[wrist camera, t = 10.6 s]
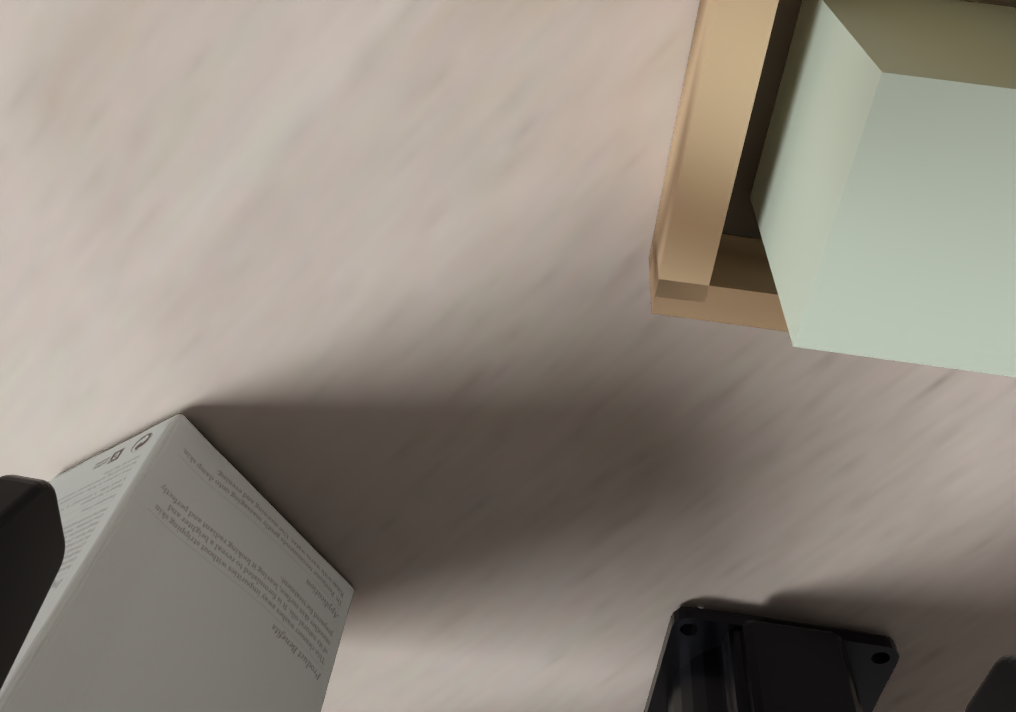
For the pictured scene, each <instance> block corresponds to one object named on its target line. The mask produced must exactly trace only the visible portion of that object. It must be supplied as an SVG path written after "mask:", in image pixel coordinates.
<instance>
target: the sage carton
mask: <svg viewBox="0 0 1016 712" xmlns="http://www.w3.org/2000/svg"><path fill="white" fill-rule="evenodd" d="M750 198H751V202H752V205H753V209H754V212H755V216H756V219H757V223H758V226H759V230H760V233H761V237H762V240H763V244H764V247H765V251H766V254H767V258H768V261H769V265H770V268H771V272H772V275H773V279H774V282H775V285H776V289H777V292H778V296H779V299H780V303H781V306H782V310H783V313H784V317H785V320H786V324H787V327H788V331H789V334H790V338H791V341H792V345H793V347H799V348H807V349H814V350H821V351H828V352H836V353H843V354H850V355H857V356H864V357H872V358H879V359H886V360H893V361H901V362H908V363H915V364H922V365H929V366H937V367H944V368H951V369H958V370H966V371H973V372H980V373H987V374H995V375H1002V376H1009V377H1016V7H1008V6H1000V5H992V4H984V3H976V2H968V1H960V0H802V3H801V7H800V11H799V15H798V18H797V22H796V26H795V30H794V33H793V37H792V41H791V45H790V49H789V52H788V56H787V60H786V64H785V68H784V71H783V75H782V79H781V83H780V86H779V90H778V94H777V98H776V102H775V105H774V109H773V113H772V117H771V120H770V124H769V128H768V132H767V136H766V139H765V143H764V147H763V151H762V155H761V158H760V162H759V166H758V170H757V173H756V177H755V181H754V185H753V189H752V192H751V196H750Z"/></svg>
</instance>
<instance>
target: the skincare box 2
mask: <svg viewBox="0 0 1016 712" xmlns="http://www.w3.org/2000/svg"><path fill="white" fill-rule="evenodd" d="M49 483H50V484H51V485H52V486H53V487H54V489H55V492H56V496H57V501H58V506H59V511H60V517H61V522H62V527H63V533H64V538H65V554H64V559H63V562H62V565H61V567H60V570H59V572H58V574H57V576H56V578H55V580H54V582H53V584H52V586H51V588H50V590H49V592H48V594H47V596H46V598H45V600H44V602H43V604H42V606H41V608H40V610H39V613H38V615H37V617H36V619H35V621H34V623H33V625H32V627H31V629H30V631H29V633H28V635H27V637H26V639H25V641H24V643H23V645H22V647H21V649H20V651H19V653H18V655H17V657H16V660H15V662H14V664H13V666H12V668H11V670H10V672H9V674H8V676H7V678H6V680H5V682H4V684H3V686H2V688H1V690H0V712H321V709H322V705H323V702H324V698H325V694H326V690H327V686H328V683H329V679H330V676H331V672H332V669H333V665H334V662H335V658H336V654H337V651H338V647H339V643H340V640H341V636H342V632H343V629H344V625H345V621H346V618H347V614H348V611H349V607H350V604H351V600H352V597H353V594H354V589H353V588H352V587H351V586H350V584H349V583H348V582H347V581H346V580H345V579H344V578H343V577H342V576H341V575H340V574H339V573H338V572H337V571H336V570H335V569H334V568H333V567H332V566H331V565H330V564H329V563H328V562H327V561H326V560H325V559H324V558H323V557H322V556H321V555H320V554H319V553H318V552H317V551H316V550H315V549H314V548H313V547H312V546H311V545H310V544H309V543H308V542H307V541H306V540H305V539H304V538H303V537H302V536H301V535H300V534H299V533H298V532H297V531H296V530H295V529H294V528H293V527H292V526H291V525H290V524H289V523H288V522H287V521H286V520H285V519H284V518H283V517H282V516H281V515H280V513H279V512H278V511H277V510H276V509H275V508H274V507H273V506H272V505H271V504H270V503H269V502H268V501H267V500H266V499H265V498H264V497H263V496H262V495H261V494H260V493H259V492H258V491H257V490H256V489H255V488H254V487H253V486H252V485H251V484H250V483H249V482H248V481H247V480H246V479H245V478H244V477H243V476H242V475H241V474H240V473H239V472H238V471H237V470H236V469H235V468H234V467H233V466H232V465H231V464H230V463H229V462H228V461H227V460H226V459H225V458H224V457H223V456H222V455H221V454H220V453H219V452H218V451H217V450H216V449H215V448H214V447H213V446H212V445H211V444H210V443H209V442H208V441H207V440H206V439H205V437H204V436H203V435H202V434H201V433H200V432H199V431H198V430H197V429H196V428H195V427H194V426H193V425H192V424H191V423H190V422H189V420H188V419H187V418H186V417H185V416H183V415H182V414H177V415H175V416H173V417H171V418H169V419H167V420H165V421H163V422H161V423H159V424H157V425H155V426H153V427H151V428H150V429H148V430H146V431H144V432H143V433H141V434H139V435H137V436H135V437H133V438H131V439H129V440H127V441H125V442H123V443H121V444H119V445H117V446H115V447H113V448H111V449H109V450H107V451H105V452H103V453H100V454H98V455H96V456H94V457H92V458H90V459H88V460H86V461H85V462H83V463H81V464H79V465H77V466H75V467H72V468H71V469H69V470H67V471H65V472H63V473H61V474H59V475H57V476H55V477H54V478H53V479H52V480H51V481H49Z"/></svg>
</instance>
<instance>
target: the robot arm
mask: <svg viewBox="0 0 1016 712" xmlns="http://www.w3.org/2000/svg"><path fill="white" fill-rule="evenodd" d="M64 554H65V538H64V533H63V527H62V522H61V517H60V511H59V506H58V501H57V496H56V492H55V489H54V487H53V486H52V485H51V484H50V483H49V482H47V481H45V480H40V479H34V478H29V477H23V476H18V475H5V476H2V477H0V690H1V688H2V686H3V684H4V682H5V680H6V678H7V676H8V674H9V672H10V670H11V668H12V666H13V664H14V662H15V660H16V657H17V655H18V653H19V651H20V649H21V647H22V645H23V643H24V641H25V639H26V637H27V635H28V633H29V631H30V629H31V627H32V625H33V623H34V621H35V619H36V617H37V615H38V613H39V610H40V608H41V606H42V604H43V602H44V600H45V598H46V596H47V594H48V592H49V590H50V588H51V586H52V584H53V582H54V580H55V578H56V576H57V574H58V572H59V570H60V567H61V565H62V562H63V559H64ZM686 624H691V625H686ZM898 659H899V654H898V651H897V648H896V645H895V642H894V640H892V639H891V638H889V637H886V636H883V635H877V634H870V633H863V632H856V631H849V630H843V629H836V628H829V627H822V626H815V625H809V624H802V623H795V622H788V621H781V620H775V619H768V618H761V617H754V616H748V615H741V614H734V613H727V612H720V611H714V610H707V609H700V608H693V607H684V608H680V609H678V610H676V611H675V612H673V614H672V616H671V619H670V622H669V626H668V629H667V633H666V636H665V640H664V643H663V647H662V650H661V654H660V657H659V661H658V664H657V668H656V671H655V675H654V678H653V682H652V685H651V689H650V692H649V696H648V699H647V703H646V706H645V710H644V712H872V711H873V709H874V707H875V705H876V703H877V701H878V699H879V697H880V695H881V693H882V691H883V689H884V687H885V685H886V683H887V681H888V680H889V678H890V676H891V674H892V672H893V670H894V668H895V666H896V664H897V662H898ZM965 712H1016V656H1014V655H1006V656H1004V657H1002V658H1000V659H998V660H997V662H996V663H995V664H994V666H993V667H992V669H991V670H990V672H989V673H988V675H987V676H986V678H985V679H984V681H983V682H982V684H981V686H980V687H979V689H978V690H977V692H976V693H975V695H974V696H973V698H972V699H971V701H970V702H969V704H968V706H967V708H966V710H965Z"/></svg>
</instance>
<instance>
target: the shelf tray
mask: <svg viewBox="0 0 1016 712" xmlns="http://www.w3.org/2000/svg"><path fill="white" fill-rule="evenodd" d="M778 2H779V0H700V4H699V9H698V14H697V19H696V24H695V29H694V34H693V39H692V44H691V49H690V54H689V59H688V64H687V69H686V74H685V79H684V84H683V89H682V94H681V99H680V104H679V109H678V114H677V119H676V124H675V130H674V135H673V140H672V145H671V150H670V155H669V160H668V165H667V170H666V175H665V180H664V185H663V190H662V195H661V200H660V205H659V210H658V215H657V220H656V225H655V230H654V235H653V240H652V245H651V250H650V256H649V266H650V289H651V312H652V314H660V315H667V316H675V317H682V318H690V319H697V320H705V321H712V322H720V323H727V324H735V325H742V326H749V327H757V328H764V329H772V330H779V331H787V332H789V331H788V327H787V324H786V320H785V317H784V313H783V310H782V306H781V303H780V299H779V296H778V292H777V289H776V285H775V282H774V279H773V275H772V272H771V268H770V265H769V261H768V258H767V254H766V251H765V247H764V244H763V240H762V239H756V238H749V237H741V236H733V235H726V234H722V231H723V227H724V223H725V218H726V214H727V210H728V206H729V202H730V198H731V194H732V190H733V186H734V182H735V178H736V173H737V169H738V165H739V161H740V157H741V153H742V149H743V145H744V141H745V137H746V133H747V129H748V124H749V120H750V116H751V112H752V108H753V104H754V100H755V96H756V92H757V88H758V84H759V79H760V75H761V71H762V67H763V63H764V59H765V55H766V51H767V47H768V43H769V39H770V34H771V30H772V26H773V22H774V18H775V14H776V10H777V6H778Z"/></svg>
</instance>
